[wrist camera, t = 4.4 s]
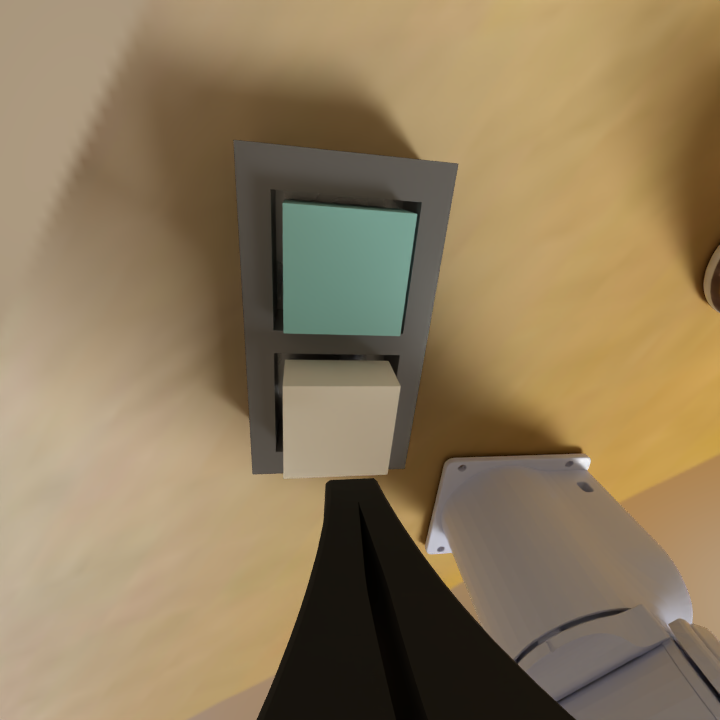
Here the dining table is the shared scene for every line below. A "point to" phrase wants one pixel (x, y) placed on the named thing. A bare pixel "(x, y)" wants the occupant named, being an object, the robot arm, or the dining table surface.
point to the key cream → (338, 417)
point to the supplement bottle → (713, 281)
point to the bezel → (259, 273)
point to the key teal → (345, 268)
